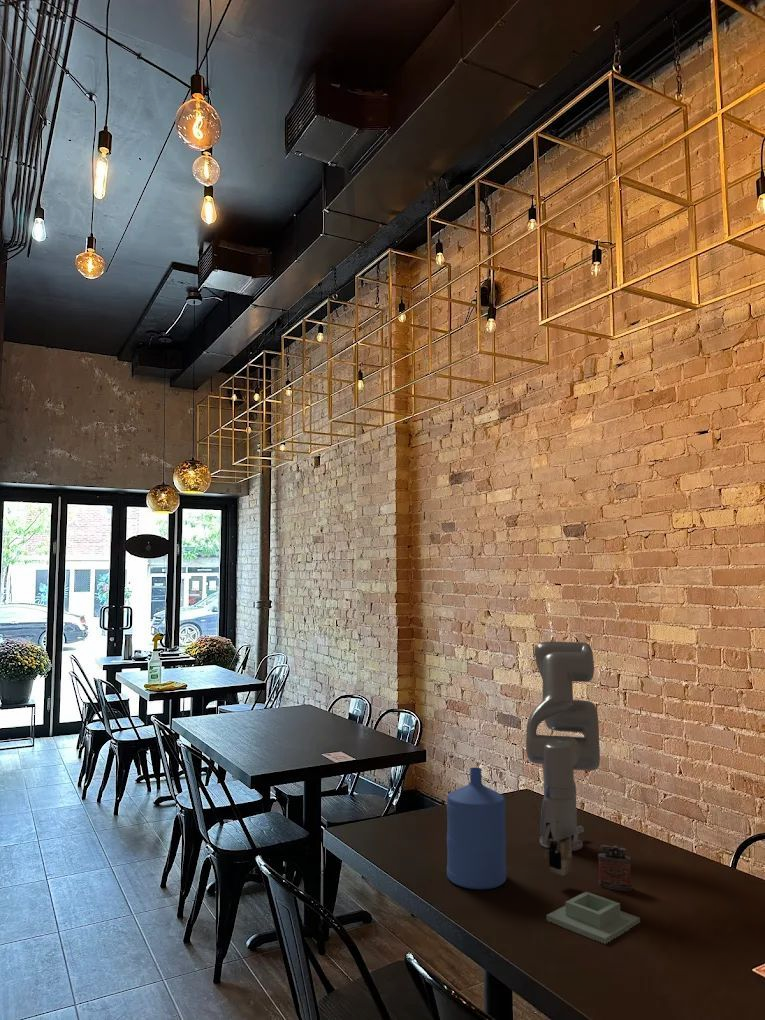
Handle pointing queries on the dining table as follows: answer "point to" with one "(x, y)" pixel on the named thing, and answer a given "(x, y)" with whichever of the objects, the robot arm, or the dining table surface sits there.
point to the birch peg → (564, 857)
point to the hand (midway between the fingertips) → (560, 864)
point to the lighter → (614, 868)
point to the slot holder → (593, 917)
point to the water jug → (476, 835)
